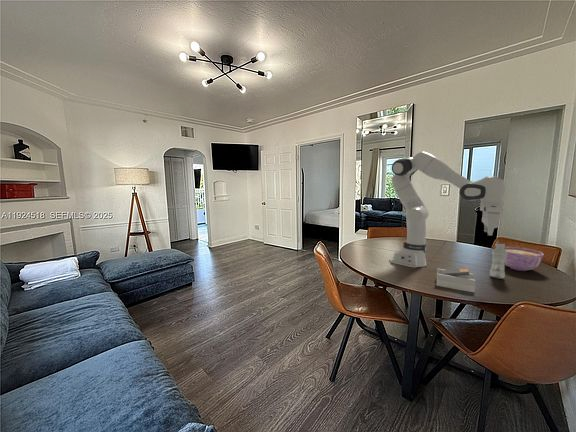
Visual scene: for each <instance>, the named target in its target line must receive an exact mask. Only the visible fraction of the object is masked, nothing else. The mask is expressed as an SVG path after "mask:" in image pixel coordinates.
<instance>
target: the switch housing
mask: <svg viewBox="0 0 576 432" xmlns="http://www.w3.org/2000/svg"><path fill="white" fill-rule="evenodd" d="M436 269H437V270H436V283H435V284H436V286H437V287H442V288H447V289H453V290H458V291H463V292H469V293H475V291H476V290H475V289H476V279H474V274H473V273H470V272H469V275H463V276H449V275H443V274H441V270H446V269H442V268H436Z"/></svg>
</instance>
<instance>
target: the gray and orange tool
mask: <svg viewBox="0 0 576 432" xmlns="http://www.w3.org/2000/svg"><path fill="white" fill-rule="evenodd" d="M469 273H470V271H469V268H459V269H457V268H456V269H445V270H441V274H443V275H449V276H463V275H469Z"/></svg>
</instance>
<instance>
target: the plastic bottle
mask: <svg viewBox="0 0 576 432" xmlns="http://www.w3.org/2000/svg"><path fill="white" fill-rule="evenodd" d="M505 247H506V244H505V243H503V242H496V243H495V248H494V249H492V251H491V256H492V260H491V261H492V263H491V266H490V269H489V275H490V276H491V277H492V278H494V279H504V278H505V276H506V271H505V269H506V265H505V261H506V258H507V251H506V250H505V249H504V248H505Z"/></svg>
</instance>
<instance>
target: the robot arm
mask: <svg viewBox="0 0 576 432" xmlns="http://www.w3.org/2000/svg"><path fill="white" fill-rule="evenodd" d="M417 171H419V172H421V173H423V174H424V175H426V176H428V177H430V178H432V179H435V180H440V181H445V182H448V183H450V184H452V185H453V186H455V187H456V188H458V189H459V195H460V197H461V198H462V199H463V200H465V201H469V202H470V201H471V202H472V201H480V206H479V211H481V212H482V217H481V223H483V226H484V227H483V228H484V229H483V231H484V233H487V236H493V233H494V230H495V229H497V228H498V227H499V224H500V222H501V221H500V220H501V214H502V213H503V211H504V209H503V205H504V200H503V197H504V195H505V180H504V178H501V177H499V176H491V175H487V176H484V177H482V178H481V179H478V180H476V181H472V180H470V179H468V178H466V177H464V176H462V175H461V174H459V173H457V172H456V171H454V170H453V169H452V168H451V167H450V166H449V165H448V164H446V162H445V161H443V160H442V159H440V158H439V157H437V156H435V155H433V154H432V153H428V152H427V151H419V152H418V153H416V154H415V155H414V156H405V157H402V158H399V159H397V160H395V161H394V162H393V163H392V165H391V172H392V173H393V176H392V177H391V183H392V187H393V189H394V191H395V194H396V196H397V197H398V199H399V202H400V203H401V204H402V205H403V207H404V209H406V214H405V218H406V219H405V220H406V240H404V241H403V242H402V247H400V248H399V249H397V250H396V251H395V252H394V254H393V256H392V257H390V258H389V262H390V263H392V264H395V265H401V266H405V267H409V268H413V269H414V268H424V267H426V266H427V261H426V251H427V244H426V238H427V230H426V220H427V218H428V217H429V210H428V209H427V207H426V205H425V204H424V202H423V200H422V199H421V197H420V196H419V195H418V192H417V190H416V189H415V187H414V185H413V183H412V181H411V179H410V176H413V175H414V174H415V173H416V172H417Z"/></svg>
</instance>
